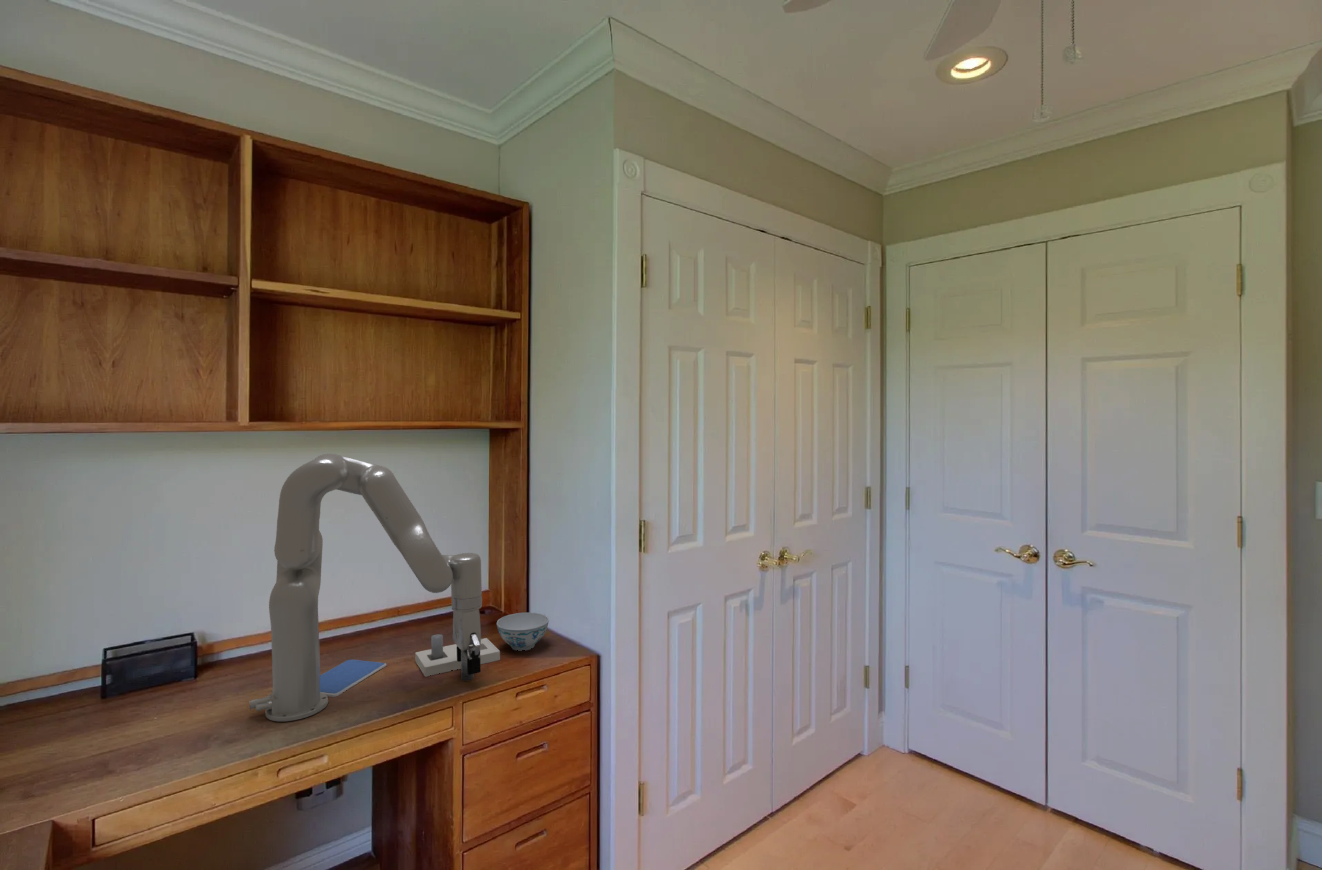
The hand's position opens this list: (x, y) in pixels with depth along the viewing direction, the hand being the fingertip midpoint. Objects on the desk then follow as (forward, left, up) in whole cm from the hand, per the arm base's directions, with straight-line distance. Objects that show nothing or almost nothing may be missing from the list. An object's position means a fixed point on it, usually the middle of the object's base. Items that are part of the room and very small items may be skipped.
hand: (468, 666), depth 161 cm
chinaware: (+20, +13, -3) cm, 24 cm away
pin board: (+1, +13, -3) cm, 13 cm away
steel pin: (0, 0, -3) cm, 3 cm away
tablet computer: (-28, +18, -4) cm, 33 cm away
